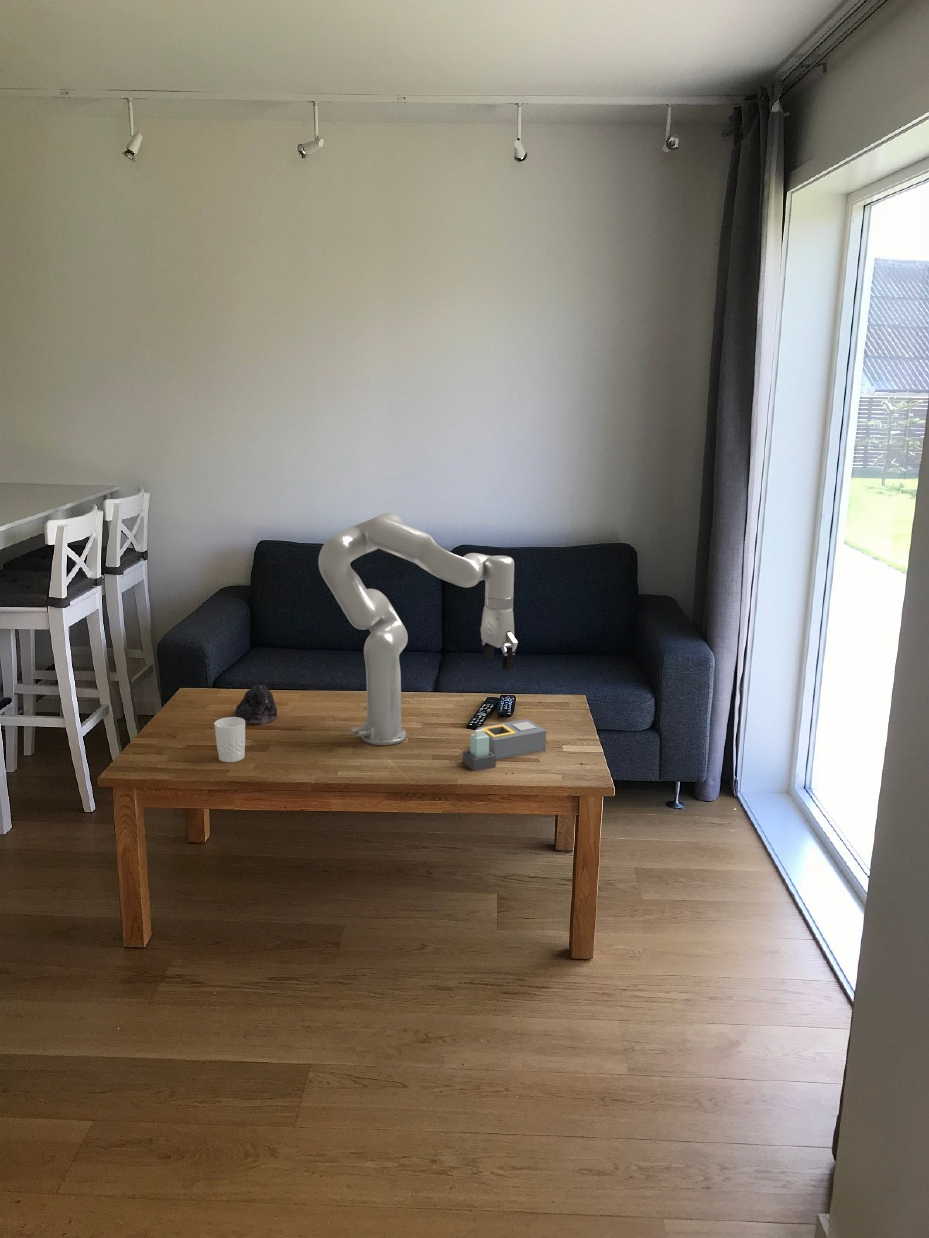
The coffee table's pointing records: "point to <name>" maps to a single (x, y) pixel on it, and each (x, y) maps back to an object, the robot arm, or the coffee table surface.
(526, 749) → the port panel
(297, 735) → the coffee table surface
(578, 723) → the coffee table surface
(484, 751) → the plug
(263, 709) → the crystal cluster
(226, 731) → the white cup
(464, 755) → the holster
